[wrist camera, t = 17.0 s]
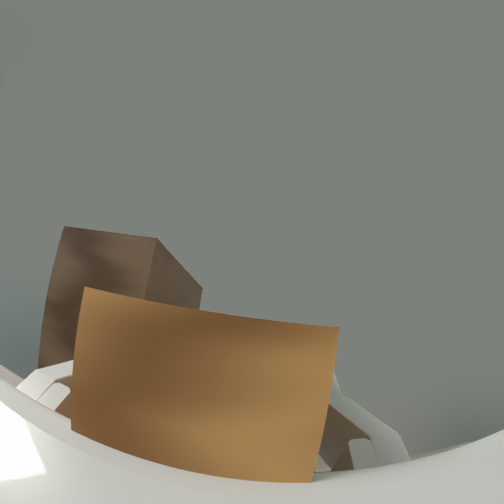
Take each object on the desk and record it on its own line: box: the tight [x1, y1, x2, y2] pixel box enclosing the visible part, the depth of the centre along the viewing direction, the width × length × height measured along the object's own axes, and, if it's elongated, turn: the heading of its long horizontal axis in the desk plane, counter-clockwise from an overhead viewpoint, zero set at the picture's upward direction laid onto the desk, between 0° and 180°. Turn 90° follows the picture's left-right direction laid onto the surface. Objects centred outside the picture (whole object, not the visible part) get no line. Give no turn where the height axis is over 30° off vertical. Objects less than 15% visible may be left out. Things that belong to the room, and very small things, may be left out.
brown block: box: [71, 287, 339, 483], centre depth 13 cm, size 4×20×4 cm, turn 1°
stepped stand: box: [38, 226, 203, 369], centre depth 16 cm, size 13×14×26 cm
